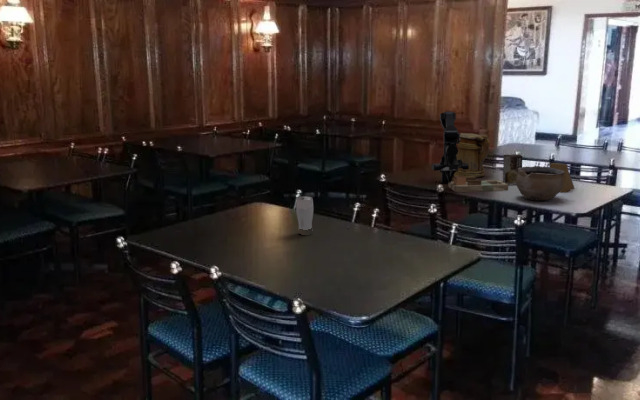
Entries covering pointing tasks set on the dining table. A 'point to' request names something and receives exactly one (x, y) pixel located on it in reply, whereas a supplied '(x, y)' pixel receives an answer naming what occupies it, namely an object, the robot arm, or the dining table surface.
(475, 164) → the tankard
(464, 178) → the block
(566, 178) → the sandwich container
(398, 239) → the dining table surface
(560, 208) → the dining table surface
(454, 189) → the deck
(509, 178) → the coffee box
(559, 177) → the ceramic bowl
